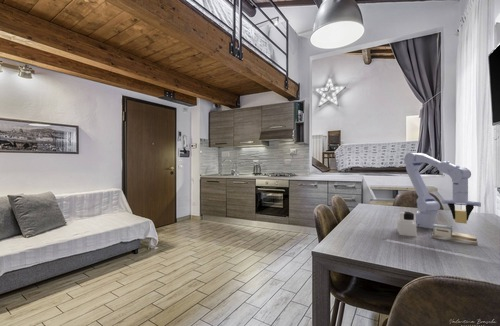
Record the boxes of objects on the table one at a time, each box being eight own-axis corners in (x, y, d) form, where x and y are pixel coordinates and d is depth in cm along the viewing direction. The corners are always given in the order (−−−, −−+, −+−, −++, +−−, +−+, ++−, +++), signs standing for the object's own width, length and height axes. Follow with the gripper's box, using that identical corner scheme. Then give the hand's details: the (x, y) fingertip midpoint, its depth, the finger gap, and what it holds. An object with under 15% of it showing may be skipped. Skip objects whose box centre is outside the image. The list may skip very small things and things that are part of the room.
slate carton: (433, 236, 113) (433, 225, 113) (433, 234, 116) (433, 223, 116) (452, 239, 109) (452, 228, 109) (452, 237, 112) (452, 226, 112)
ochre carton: (466, 223, 111) (466, 212, 111) (455, 222, 114) (455, 211, 114) (464, 220, 117) (464, 209, 117) (454, 219, 119) (454, 208, 119)
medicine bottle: (413, 234, 120) (413, 211, 120) (416, 238, 114) (416, 214, 114) (397, 232, 123) (397, 210, 123) (399, 236, 117) (399, 212, 117)
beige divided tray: (431, 239, 112) (431, 234, 112) (434, 231, 126) (434, 227, 126) (477, 247, 102) (477, 242, 102) (475, 237, 115) (475, 233, 115)
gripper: (441, 191, 116) (441, 218, 116) (482, 194, 108) (482, 223, 108) (440, 190, 122) (441, 216, 122) (479, 192, 113) (479, 220, 113)
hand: (460, 219), depth 115 cm, fingers closed on ochre carton, 4 cm apart
